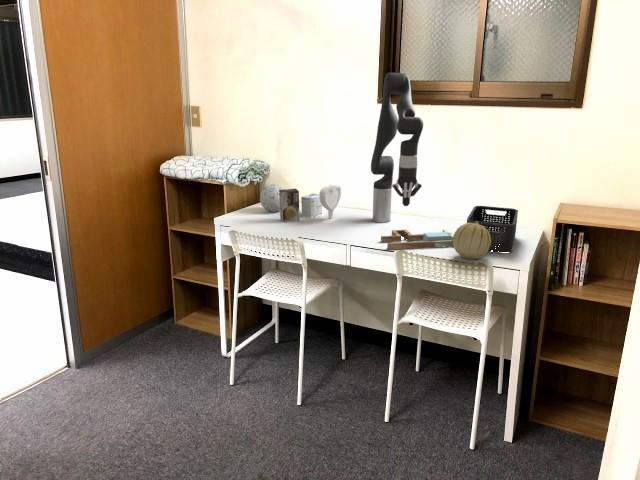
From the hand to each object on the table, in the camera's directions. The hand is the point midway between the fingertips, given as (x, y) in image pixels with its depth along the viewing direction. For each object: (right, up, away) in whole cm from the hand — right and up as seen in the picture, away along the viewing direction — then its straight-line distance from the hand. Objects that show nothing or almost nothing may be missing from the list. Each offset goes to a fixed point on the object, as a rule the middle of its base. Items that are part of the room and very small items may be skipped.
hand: (405, 205), depth 218 cm
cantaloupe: (+24, -22, -12) cm, 35 cm away
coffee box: (-53, -5, +45) cm, 70 cm away
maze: (+6, -15, +10) cm, 19 cm away
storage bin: (+39, -16, +7) cm, 43 cm away
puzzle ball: (-63, +1, +64) cm, 90 cm away
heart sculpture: (-31, -5, +46) cm, 56 cm away
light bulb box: (-41, -1, +57) cm, 70 cm away
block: (+15, -17, +6) cm, 23 cm away
